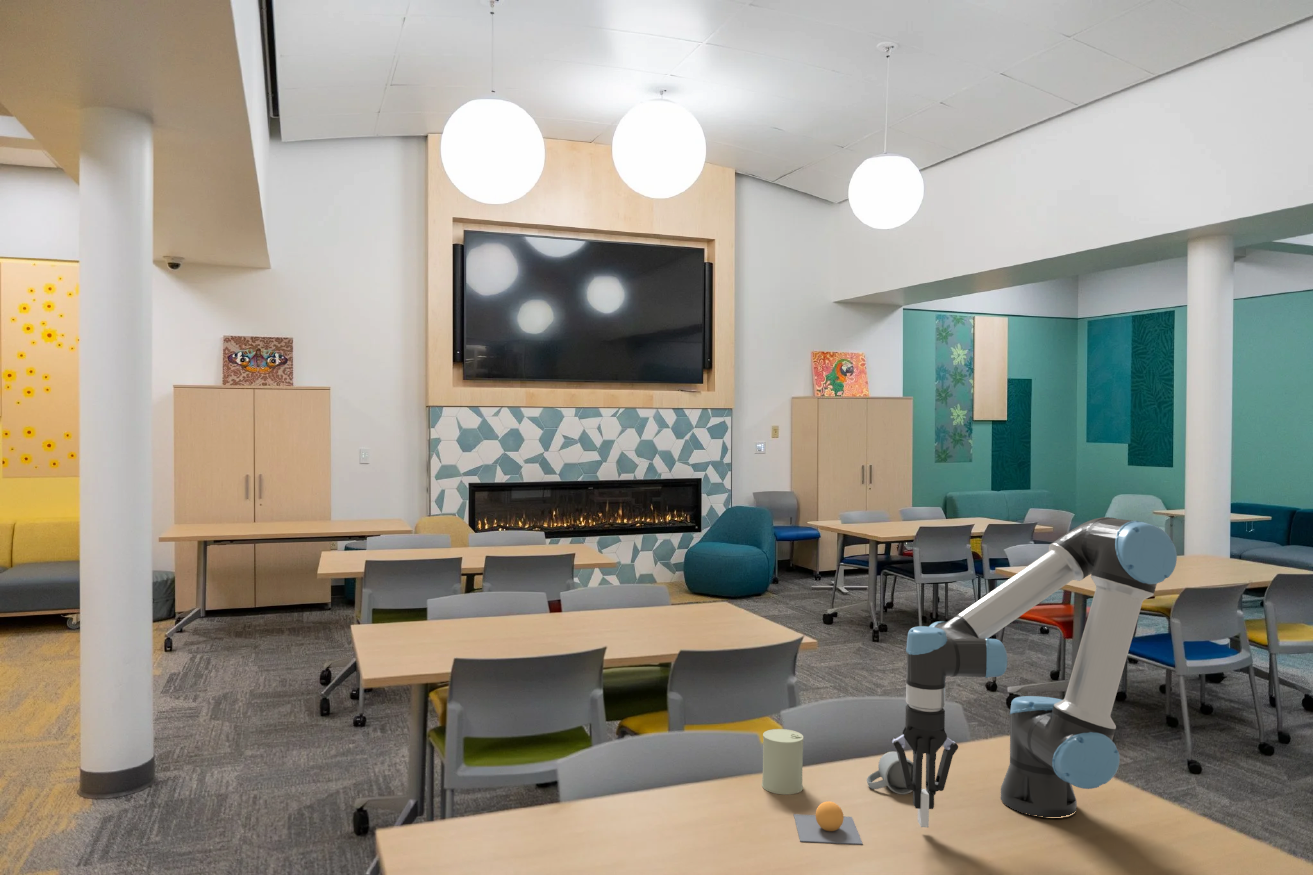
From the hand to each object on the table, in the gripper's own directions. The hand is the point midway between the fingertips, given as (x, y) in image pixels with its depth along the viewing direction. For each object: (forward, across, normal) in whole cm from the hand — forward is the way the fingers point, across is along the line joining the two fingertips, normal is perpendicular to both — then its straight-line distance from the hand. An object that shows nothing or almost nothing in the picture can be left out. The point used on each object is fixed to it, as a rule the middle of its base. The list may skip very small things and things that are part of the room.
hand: (923, 824), depth 171 cm
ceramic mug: (+2, +1, -23) cm, 23 cm away
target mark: (+2, +19, 0) cm, 19 cm away
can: (+2, +26, -21) cm, 33 cm away
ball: (-1, +19, 0) cm, 19 cm away
